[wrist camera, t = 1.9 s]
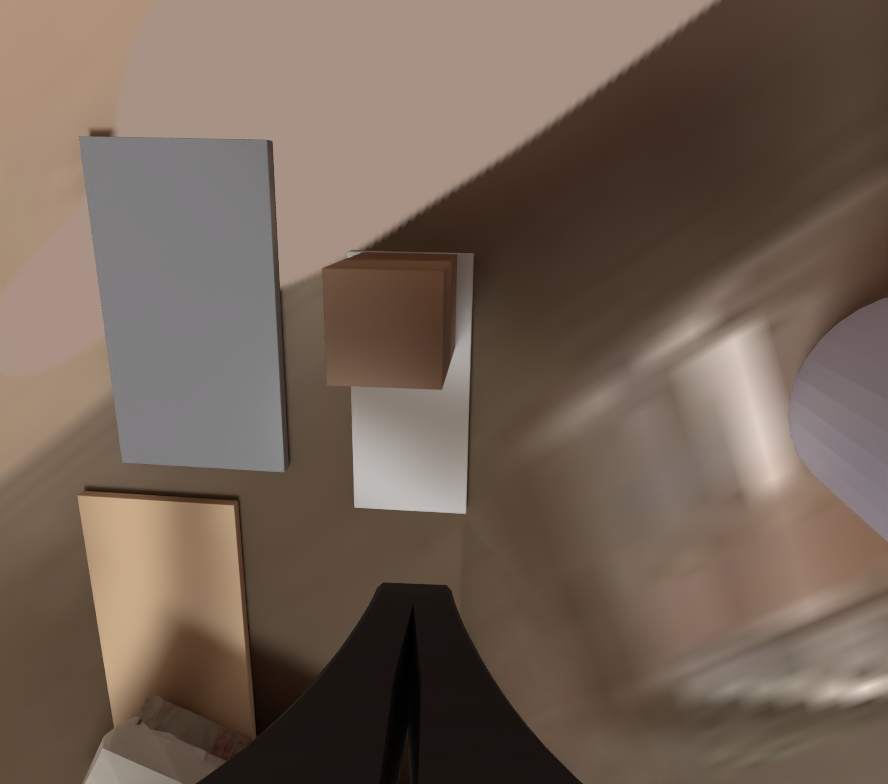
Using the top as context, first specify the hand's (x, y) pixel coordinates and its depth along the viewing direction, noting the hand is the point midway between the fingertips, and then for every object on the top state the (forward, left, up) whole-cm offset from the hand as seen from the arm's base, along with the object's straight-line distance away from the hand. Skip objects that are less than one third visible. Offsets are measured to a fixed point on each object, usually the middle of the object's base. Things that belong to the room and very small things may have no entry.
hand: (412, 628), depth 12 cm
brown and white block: (+1, -2, -11) cm, 11 cm away
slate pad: (+9, -4, -11) cm, 14 cm away
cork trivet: (+11, +13, -11) cm, 20 cm away
